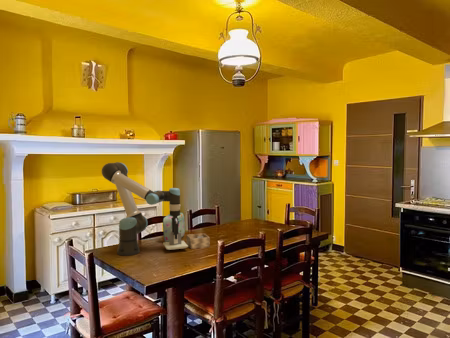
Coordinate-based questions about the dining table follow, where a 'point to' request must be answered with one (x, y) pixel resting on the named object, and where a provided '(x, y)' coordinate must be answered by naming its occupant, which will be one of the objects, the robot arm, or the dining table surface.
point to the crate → (198, 241)
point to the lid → (170, 244)
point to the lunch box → (168, 226)
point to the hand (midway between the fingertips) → (175, 242)
